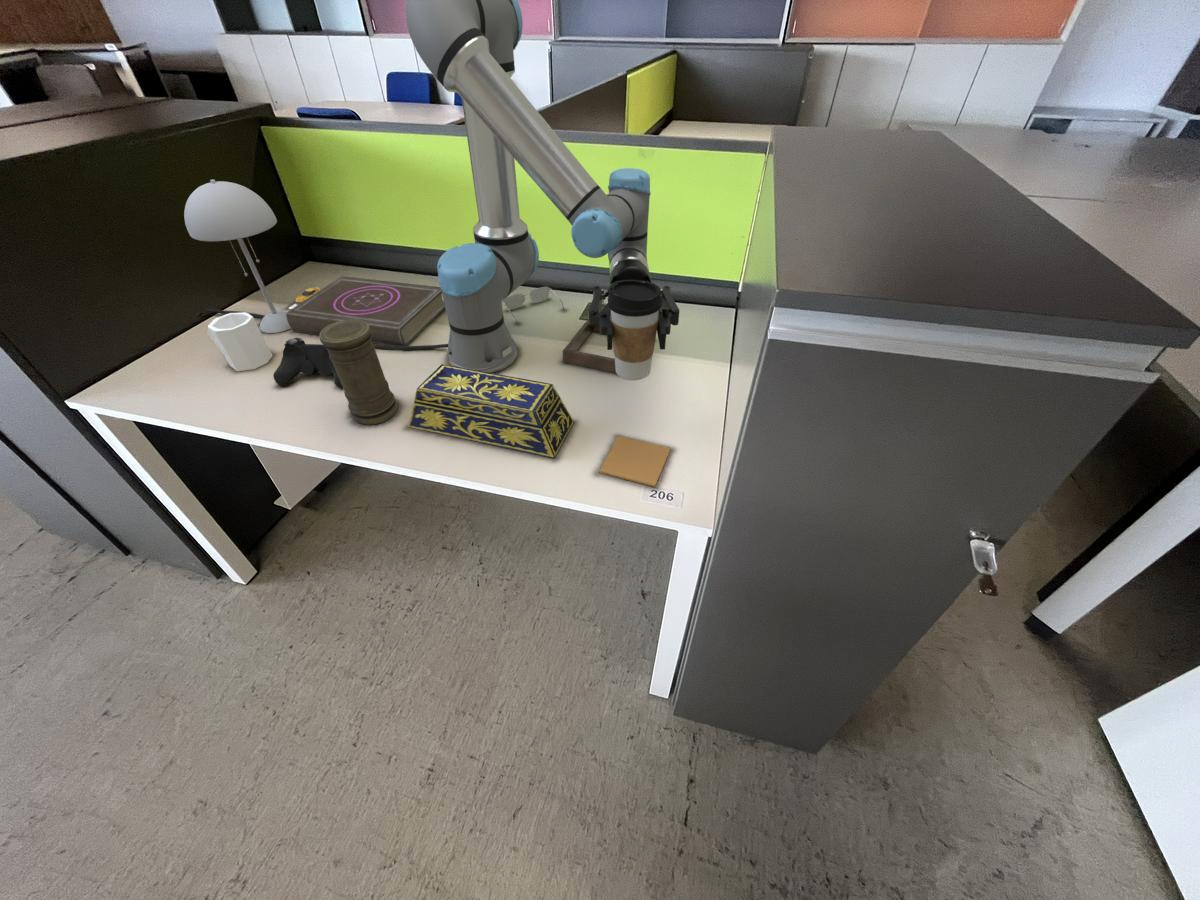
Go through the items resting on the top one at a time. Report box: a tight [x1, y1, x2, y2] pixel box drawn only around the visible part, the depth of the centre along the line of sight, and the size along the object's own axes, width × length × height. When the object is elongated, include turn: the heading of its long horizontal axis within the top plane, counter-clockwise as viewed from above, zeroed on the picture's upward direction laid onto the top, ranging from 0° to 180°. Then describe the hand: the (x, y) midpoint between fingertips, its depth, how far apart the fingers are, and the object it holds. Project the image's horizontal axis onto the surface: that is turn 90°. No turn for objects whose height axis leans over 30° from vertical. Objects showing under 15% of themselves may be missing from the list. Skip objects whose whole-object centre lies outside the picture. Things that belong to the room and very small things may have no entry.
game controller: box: [272, 336, 343, 389], centre depth 110 cm, size 16×7×10 cm, turn 86°
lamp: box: [183, 179, 292, 334], centre depth 119 cm, size 17×17×33 cm
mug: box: [206, 311, 273, 372], centre depth 114 cm, size 12×9×10 cm
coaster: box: [598, 435, 671, 488], centre depth 92 cm, size 10×10×1 cm
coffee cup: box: [607, 280, 662, 381], centre depth 84 cm, size 8×8×15 cm
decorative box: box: [408, 363, 575, 459], centre depth 97 cm, size 11×30×9 cm, turn 72°
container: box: [319, 320, 399, 426], centre depth 97 cm, size 9×9×18 cm
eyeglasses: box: [502, 286, 565, 325], centre depth 133 cm, size 14×8×4 cm, turn 122°
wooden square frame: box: [562, 318, 617, 374], centre depth 118 cm, size 16×16×3 cm
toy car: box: [287, 286, 322, 310], centre depth 138 cm, size 4×8×2 cm, turn 164°
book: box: [286, 275, 446, 346], centre depth 130 cm, size 30×22×5 cm
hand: (636, 341), depth 80 cm, fingers closed on coffee cup, 7 cm apart
